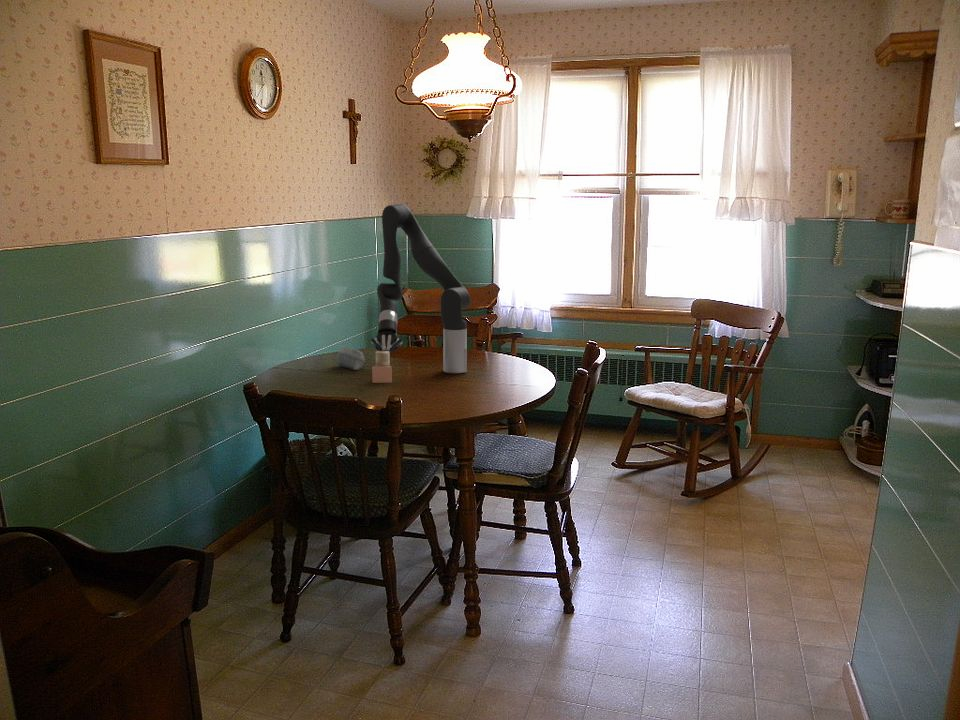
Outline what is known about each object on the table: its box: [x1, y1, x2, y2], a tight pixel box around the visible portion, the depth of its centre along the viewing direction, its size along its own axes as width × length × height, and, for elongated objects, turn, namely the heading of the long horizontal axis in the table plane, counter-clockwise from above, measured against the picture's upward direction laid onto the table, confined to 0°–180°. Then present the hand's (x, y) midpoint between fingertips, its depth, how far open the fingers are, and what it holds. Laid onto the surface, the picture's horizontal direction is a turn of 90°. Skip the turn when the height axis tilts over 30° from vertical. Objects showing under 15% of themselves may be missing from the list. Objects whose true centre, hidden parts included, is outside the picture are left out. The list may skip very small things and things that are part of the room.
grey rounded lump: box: [335, 347, 365, 371], centre depth 309 cm, size 14×10×10 cm
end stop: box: [371, 365, 393, 384], centre depth 286 cm, size 7×2×6 cm, turn 91°
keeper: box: [375, 350, 391, 366], centre depth 289 cm, size 5×4×10 cm
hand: (385, 359), depth 300 cm, fingers closed
